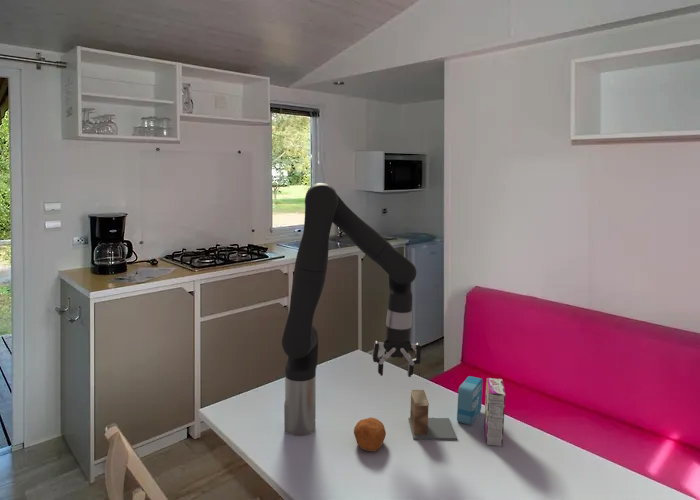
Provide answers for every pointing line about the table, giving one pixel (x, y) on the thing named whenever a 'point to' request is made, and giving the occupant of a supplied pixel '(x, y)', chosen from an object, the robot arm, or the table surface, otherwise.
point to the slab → (419, 411)
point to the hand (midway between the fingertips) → (395, 375)
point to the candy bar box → (494, 412)
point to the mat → (436, 430)
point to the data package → (469, 400)
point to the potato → (369, 434)
